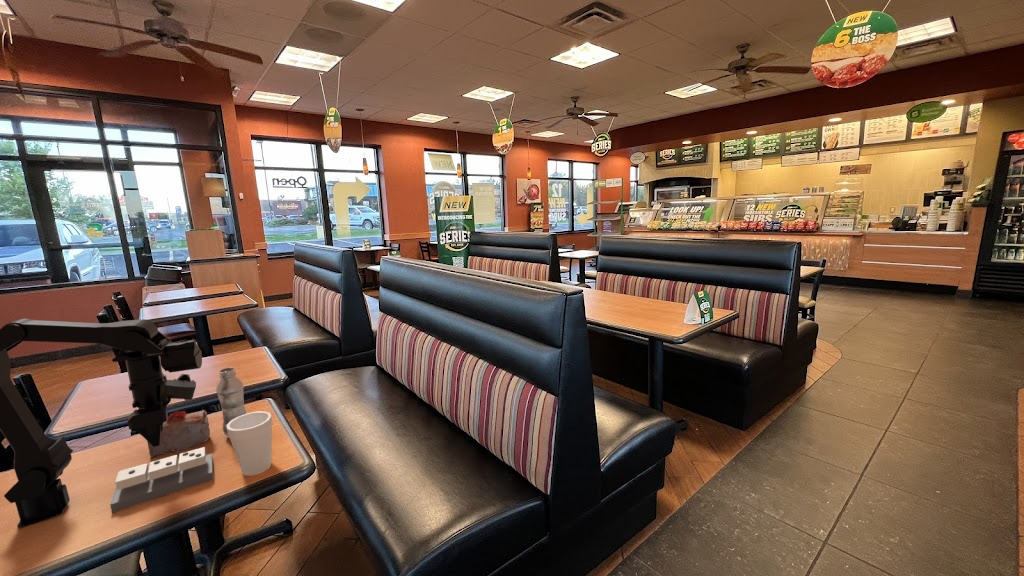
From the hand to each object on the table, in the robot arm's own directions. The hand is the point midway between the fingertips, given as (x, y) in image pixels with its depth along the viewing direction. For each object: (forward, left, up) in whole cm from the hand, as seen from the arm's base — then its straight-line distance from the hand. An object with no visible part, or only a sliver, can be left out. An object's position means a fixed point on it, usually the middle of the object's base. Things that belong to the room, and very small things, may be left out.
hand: (158, 438), depth 97 cm
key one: (-6, 0, -8) cm, 10 cm away
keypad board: (0, 0, -12) cm, 12 cm away
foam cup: (+18, -6, -12) cm, 22 cm away
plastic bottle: (+15, +16, -12) cm, 25 cm away
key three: (+5, 0, -8) cm, 10 cm away
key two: (0, 0, -8) cm, 8 cm away
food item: (+2, +19, -12) cm, 23 cm away
